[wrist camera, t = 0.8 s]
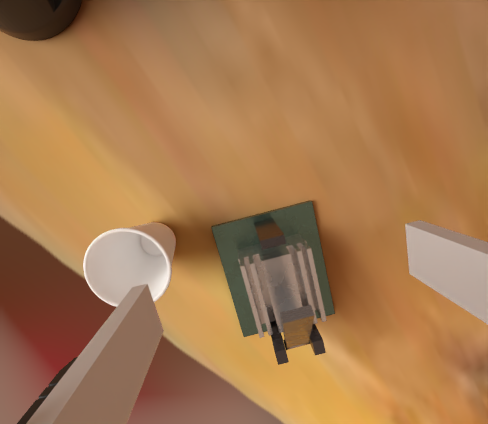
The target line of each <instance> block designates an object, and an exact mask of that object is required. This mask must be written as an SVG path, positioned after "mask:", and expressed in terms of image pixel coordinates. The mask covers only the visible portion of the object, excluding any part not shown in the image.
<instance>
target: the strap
mask: <svg viewBox="0 0 488 424" xmlns="http://www.w3.org/2000/svg"><path fill="white" fill-rule="evenodd" d="M280 315H281V321H282V326H283V332H284V337H285V340H284V344H285V348H286V350H288V349H291V348H295V347H299V346H303V345H307V344H310V340H309V339H310V334H311V330H312V325H313V321H314V316H315V315H314V312H313V309H312V307H311V305H307V306H303V307H300V308H296V309H292V310H288V311H284V312H280Z"/></svg>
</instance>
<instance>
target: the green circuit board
mask: <svg viewBox="0 0 488 424" xmlns="http://www.w3.org/2000/svg"><path fill="white" fill-rule="evenodd" d="M211 228H212V231H213V234H214V238H215V241H216V245H217V248H218V251H219V255H220V258H221V262H222V265H223V268H224V272H225V275H226V278H227V282H228V285H229V289H230V292H231V295H232V299H233V302H234V306H235V309H236V312H237V316H238V319H239V322H240V326H241V329H242V333H243V336H244V337H246V336H250V335H254V334H258V333H259V336H260V338H261V337H264V334H263V332H266V331H268V334H269V335H271V337H272V341H273V346H274V350H275V354H276V358H277V362H278V365H279V364H283V363H287V362H288V358H287V354H286V350H285V346H284V343H283V339H282V336H281V332H283V326H282V321H281V315H280V312H284V311H288V310H292V309H296V308H300V307H303V306H307V305H311V307H312V309H313V312H314V315H315V316H314V321H313V325H312V330H311V334H310V339H309V340H310V344H311V347H312V349H313V351H314V354H315V355H318V354H322V353H326V352H325V348H324V343H323V339H322V337H321V335H320V333H319V331H318V329H317V327H316V325H315V324H316V323H317V318H321V320H322V322H324V321H327V320H326V316H328V315H332V314H335V312H334V307H333V302H332V297H331V292H330V287H329V283H328V278H327V273H326V268H325V263H324V258H323V253H322V248H321V243H320V238H319V234H318V229H317V224H316V219H315V214H314V209H313V204H312V201H306V202H303V203H299V204H295V205H291V206H287V207H283V208H280V209H276V210H272V211H268V212H264V213H260V214H257V215H253V216H249V217H245V218H241V219H238V220H234V221H230V222H226V223H222V224H218V225H215V226H212V227H211Z"/></svg>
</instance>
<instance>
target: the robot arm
mask: <svg viewBox="0 0 488 424" xmlns="http://www.w3.org/2000/svg"><path fill="white" fill-rule="evenodd" d="M81 1H82V0H0V31H2V32H4V33H6V34H8V35H10V36H13V37H16V38H19V39H24V40H42V39H47V38H50V37H52V36H55V35H57V34H58V33H60V32H61V31H63V30H64V29H65V28H66V27H67V26H68V25H69V24H70V23H71V22H72V21H73V19H74V18H75V16H76V14H77V12H78V10H79V8H80V5H81ZM405 226H406V238H407V250H408V262H409V274H411V275H412V276H414V277H415V278H417V279H418V280H420V281H421V282H423V283H425V284H426V285H428V286H429V287H431V288H432V289H434V290H435V291H437V292H439V293H440V294H442V295H443V296H445V297H446V298H448V299H449V300H451V301H453V302H454V303H456V304H457V305H459V306H460V307H462V308H463V309H465V310H467V311H468V312H470V313H471V314H473V315H474V316H476V317H477V318H479V319H481V320H482V321H484V322H485V323H487V324H488V242H485V241H482V240H479V239H476V238H473V237H470V236H467V235H464V234H461V233H458V232H455V231H451V230H448V229H445V228H442V227H439V226H436V225H433V224H430V223H427V222H424V221H421V220H420V221H416V222H411V223H407V224H405ZM163 331H164V330H163V328H162V325H161V322H160V319H159V316H158V313H157V310H156V307H155V304H154V301H153V298H152V295H151V292H150V290H149V287H148V284H144V285H139V286H135V287H132V288H131V290H130V291H129V292H128V293H127V295H126V296H125V297H124V299H123V300H122V301H121V302H120V304H119V305H118V306H117V308H116V309H115V310H114V311H113V313H112V314H111V315H110V317H109V318H108V319H107V320H106V322H105V323H104V324H103V326H102V327H101V328H100V330H99V331H98V332H97V333H96V335H95V336H94V337H93V338H92V340H91V341H90V342H89V344H88V345H87V346H86V348H85V349H84V350H83V351H82V353H81V354H80V355H79V356H78V357H76V358H74V359H73V360H72V361H71V362H69V363H68V364H67V365H66V366H65V367H64V368H63V369H61V370H60V371H59V373H58V374H57V375H56V376H55V377H54V379H53V380H52V381H51V382H50V384H49V387H47V388H46V389H45V390H44V391H43V392H42V393H41V395H40V396H39V399H38V400H36V401H35V402H34V403H33V405H32V406H31V407H30V408H29V409H28V411H27V412H26V413H25V414H24V416H23V417H22V418H21V419H20V421H19V422H18V423H17V424H127V421H128V419H129V417H130V414H131V412H132V409H133V407H134V404H135V401H136V399H137V396H138V394H139V391H140V389H141V386H142V384H143V381H144V379H145V376H146V374H147V371H148V368H149V366H150V364H151V361H152V358H153V356H154V354H155V351H156V349H157V346H158V344H159V341H160V338H161V336H162V334H163Z"/></svg>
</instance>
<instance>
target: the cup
mask: <svg viewBox="0 0 488 424" xmlns="http://www.w3.org/2000/svg"><path fill="white" fill-rule="evenodd" d="M175 246H176V238H175V235H174V233H173V231H172V230H171V229H170V228H169V227H168V226H166V225H164V224H162V223H157V222H152V223H147V224H143V225H139V226H134V227H130V228H117V229H113V230H109V231H107V232H105V233H103V234H101V235H100V236H98V237H97V238H96V239H95V240H94V241H93V242H92V243H91V244H90V246H89V247H88V249H87V251H86V254H85V257H84V264H83V269H84V275H85V278H86V281H87V283H88V285H89V286H90V288H91V290H92V291H93V292H94V293H95V294H96V295H97V296H98V297H99V298H100V299H102V300H103V301H105V302H107V303H109V304H111V305H113V306H116V307H117V306H118V305H119V304H120V302H121V301H122V300H123V299H124V297H125V296H126V295H127V293H128V292H129V291H130V290H131V288H132V287H135V286H139V285H144V284H148V287H149V290H150V292H151V295H152V298H153V301H154V302H155V301H156V300H158V299H159V298H160V297H161V296H162V295H163V294H164V293H165V291H166V290H167V288H168V286H169V283H170V280H171V274H172V268H171V267H172V261H173V256H174V251H175Z"/></svg>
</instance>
